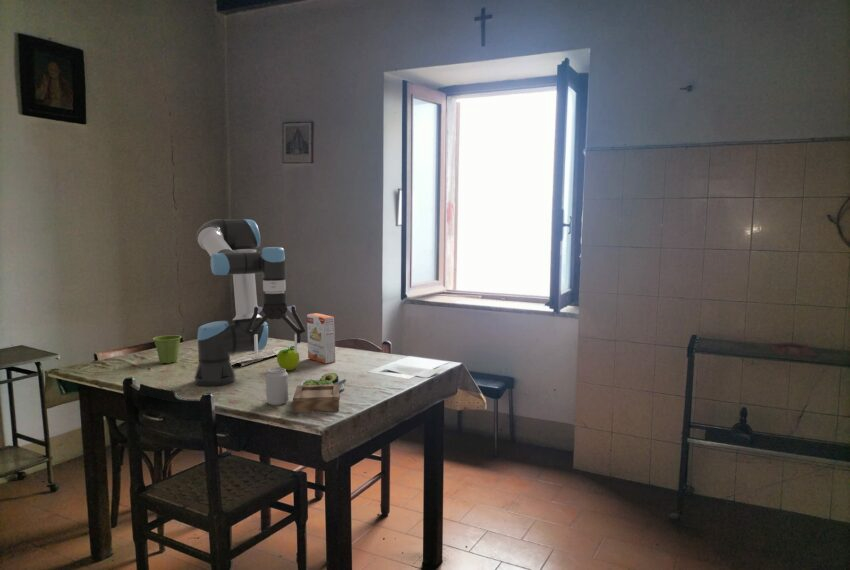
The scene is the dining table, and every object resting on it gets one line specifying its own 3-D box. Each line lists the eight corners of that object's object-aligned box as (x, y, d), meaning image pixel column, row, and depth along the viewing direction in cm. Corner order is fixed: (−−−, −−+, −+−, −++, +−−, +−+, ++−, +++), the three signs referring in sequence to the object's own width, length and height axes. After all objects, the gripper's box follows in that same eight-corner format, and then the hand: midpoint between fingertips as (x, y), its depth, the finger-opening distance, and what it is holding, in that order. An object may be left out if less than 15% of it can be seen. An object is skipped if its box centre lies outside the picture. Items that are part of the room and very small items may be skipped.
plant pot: (187, 359, 274) (186, 335, 273) (174, 365, 262) (173, 340, 261) (162, 358, 275) (161, 334, 274) (148, 365, 263) (147, 339, 262)
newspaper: (272, 350, 294) (272, 343, 294) (293, 352, 289) (293, 345, 289) (221, 366, 262) (220, 359, 262) (243, 369, 257) (243, 361, 257)
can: (283, 406, 206) (282, 372, 204) (262, 405, 207) (261, 371, 206) (292, 400, 213) (291, 367, 212) (272, 399, 215) (271, 366, 213)
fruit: (304, 369, 257) (303, 346, 256) (288, 373, 249) (287, 350, 248) (289, 366, 262) (288, 343, 261) (272, 370, 254) (272, 347, 253)
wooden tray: (293, 412, 200) (292, 398, 199) (297, 399, 214) (297, 385, 214) (338, 411, 201) (338, 396, 201) (339, 397, 216) (339, 384, 216)
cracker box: (307, 359, 275) (306, 314, 272) (318, 356, 279) (317, 312, 277) (324, 364, 265) (323, 317, 262) (335, 362, 269) (335, 316, 266)
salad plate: (349, 396, 219) (349, 383, 219) (299, 399, 216) (299, 386, 215) (346, 382, 238) (345, 370, 238) (300, 384, 235) (299, 372, 234)
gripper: (235, 294, 201) (237, 356, 203) (310, 292, 203) (312, 354, 206) (239, 291, 208) (241, 351, 210) (312, 290, 211) (313, 349, 213)
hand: (276, 353), depth 208 cm, fingers open, 13 cm apart
